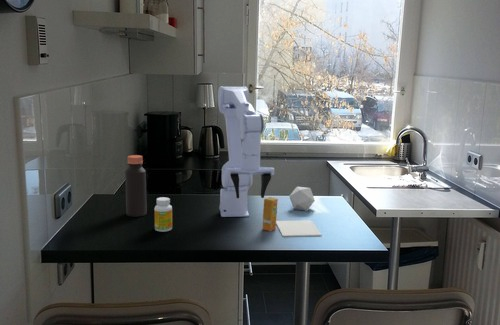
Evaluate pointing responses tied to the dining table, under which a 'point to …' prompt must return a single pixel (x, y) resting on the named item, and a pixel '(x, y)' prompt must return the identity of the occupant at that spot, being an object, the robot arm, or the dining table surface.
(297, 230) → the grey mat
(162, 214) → the supplement bottle
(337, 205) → the dining table surface
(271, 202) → the supplement box
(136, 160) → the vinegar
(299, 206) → the die
